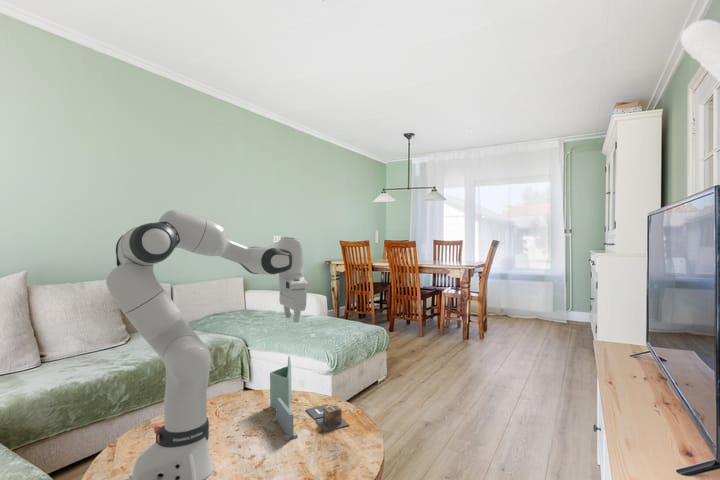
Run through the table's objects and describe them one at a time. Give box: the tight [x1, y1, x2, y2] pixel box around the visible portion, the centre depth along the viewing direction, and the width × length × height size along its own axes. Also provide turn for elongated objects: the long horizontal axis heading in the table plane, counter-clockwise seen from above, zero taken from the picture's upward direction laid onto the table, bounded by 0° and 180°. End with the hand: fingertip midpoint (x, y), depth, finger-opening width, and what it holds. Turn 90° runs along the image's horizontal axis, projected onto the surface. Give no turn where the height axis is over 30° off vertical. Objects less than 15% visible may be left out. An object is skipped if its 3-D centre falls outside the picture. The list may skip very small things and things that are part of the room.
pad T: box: [315, 418, 350, 433], centre depth 134 cm, size 9×9×1 cm
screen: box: [272, 397, 299, 441], centre depth 131 cm, size 4×16×8 cm, turn 28°
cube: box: [322, 403, 343, 427], centre depth 134 cm, size 5×5×5 cm
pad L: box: [305, 404, 330, 421], centre depth 143 cm, size 9×9×1 cm
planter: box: [269, 355, 292, 410], centre depth 150 cm, size 16×8×20 cm, turn 7°
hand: (291, 320), depth 136 cm, fingers open, 8 cm apart
